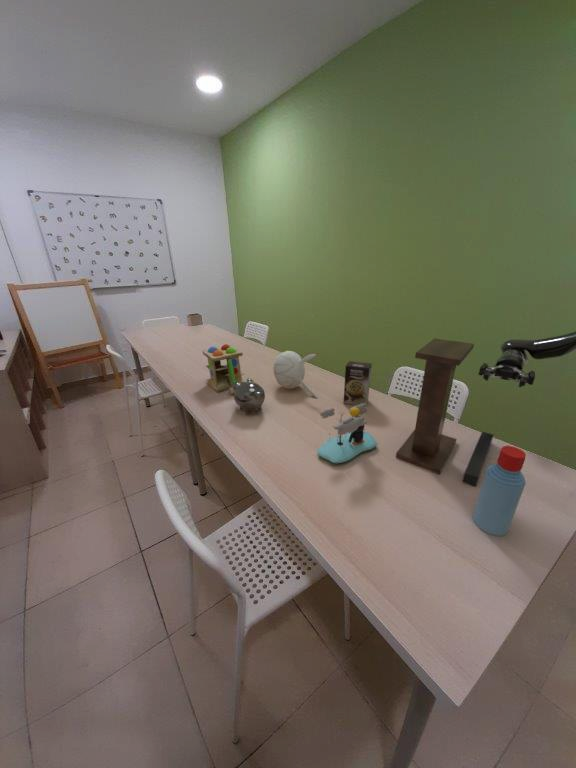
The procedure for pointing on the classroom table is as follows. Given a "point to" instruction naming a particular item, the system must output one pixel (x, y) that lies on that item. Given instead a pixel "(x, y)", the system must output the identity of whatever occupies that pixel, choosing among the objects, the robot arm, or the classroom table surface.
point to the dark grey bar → (477, 459)
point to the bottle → (498, 499)
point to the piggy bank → (248, 396)
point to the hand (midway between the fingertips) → (503, 380)
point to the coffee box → (357, 383)
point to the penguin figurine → (347, 437)
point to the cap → (511, 458)
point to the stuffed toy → (291, 370)
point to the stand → (434, 405)
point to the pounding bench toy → (223, 367)
